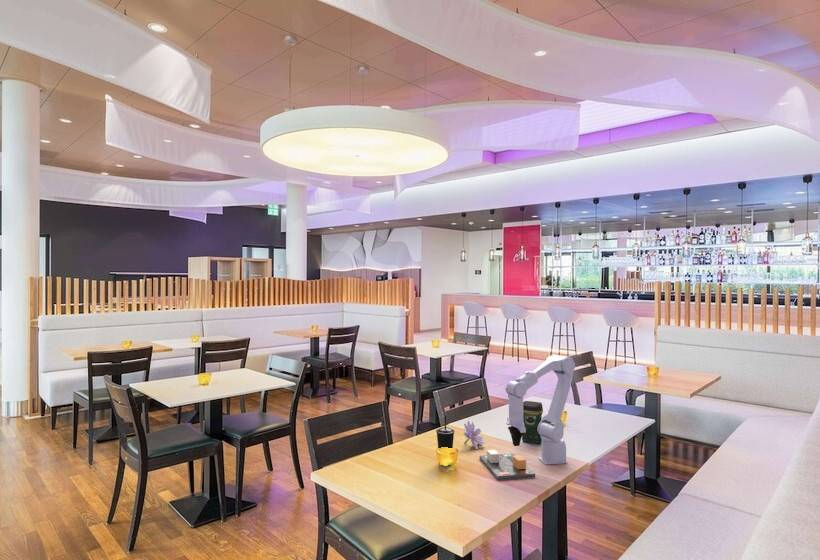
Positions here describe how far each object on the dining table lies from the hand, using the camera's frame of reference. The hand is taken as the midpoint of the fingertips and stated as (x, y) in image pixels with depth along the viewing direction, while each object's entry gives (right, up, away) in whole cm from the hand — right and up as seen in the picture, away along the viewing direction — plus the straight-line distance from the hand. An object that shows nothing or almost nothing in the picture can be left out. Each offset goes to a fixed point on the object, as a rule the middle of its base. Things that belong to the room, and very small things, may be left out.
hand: (516, 445), depth 191 cm
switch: (-9, -7, +4) cm, 12 cm away
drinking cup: (-28, -9, +4) cm, 30 cm away
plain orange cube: (0, -7, -3) cm, 8 cm away
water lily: (-13, -10, +26) cm, 31 cm away
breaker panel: (-4, -9, 0) cm, 10 cm away
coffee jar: (+15, -10, +33) cm, 37 cm away
